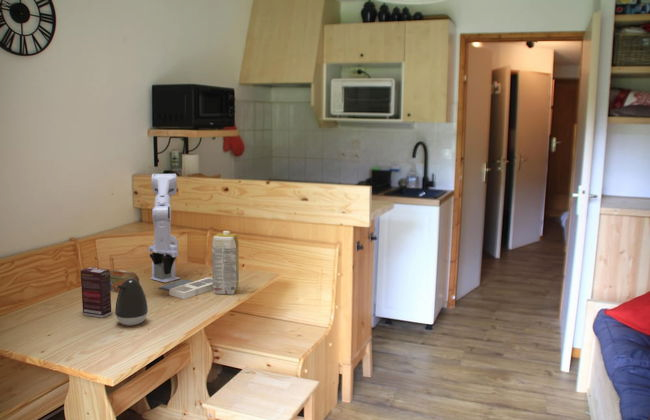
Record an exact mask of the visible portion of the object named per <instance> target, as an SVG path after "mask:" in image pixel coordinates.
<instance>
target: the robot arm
mask: <svg viewBox="0 0 650 420" xmlns="http://www.w3.org/2000/svg"><path fill="white" fill-rule="evenodd" d="M177 176H178V175H177V174H176V173H152V174H151V189H152V193H153V195H156V196H155V197H154V207H152V210H151V211H152V214H151V215H152V222H153V223H152V224H153V227H154V228H153V231H154V232H153V234H154V237H153V238H154V240H153V245H150V246H148V248H147V249H148V252H149V253H150V254H149V258H150V259H151V260H152V262H151V277H150V279H151V280H155V281H158V282H161V283H165V284H166V283H169V282H174V281H178V280H179V279H180V280H181V277H180V276H177V275H176V258H178V257H179V243H178V239H177V237H176V236H174V235H172V233H171V232H172V229H171V227H172V225H171V224H172V221H171V220H172V208H171V207H172V206H171V199H172V196H173V195H175V194H177V190H178V189H177V187H178V177H177ZM159 263H163V264H164V272H165V274H166V275H167V274H170V273H171V277H170V278H166V279H163V280H161V279H158V278H154V265H155V264H159Z"/></svg>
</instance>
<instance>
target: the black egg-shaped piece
mask: <svg viewBox="0 0 650 420" xmlns="http://www.w3.org/2000/svg"><path fill="white" fill-rule="evenodd" d="M117 287H118V288H120V290H119V293H118V292H117V298H116V303H115V312H114V314H115V316H116V318H117V320H118V322H119V323H120V324H122V325H123V326H128V327H129V326H132V327H133V326H138V325H139V324H141V323H143V322H144V320H145V319H146V317H147V315H148V312H149V308H148V306H149V305H148V301H147V298H146V293H145V292H144V289H143V286H142V284H141V283H140V281H139V282H138V281H137V280H136V279H133V278H129V279H127V280H125V281H124V282H123V284H122V285H118V286H117Z"/></svg>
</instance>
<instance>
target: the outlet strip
mask: <svg viewBox="0 0 650 420" xmlns="http://www.w3.org/2000/svg"><path fill="white" fill-rule="evenodd" d="M193 281H194V280H193ZM210 291H214V289H213V277H208V276H207V277H205V278H202V279H198V280H195V281H194V282H191V283H187V284H184V285H181V286H178V287H174V288H171V289H169V291H168V292H169V296H172V297H174V298H178V299H181V298H182V300H187V299H188V298H192V297H195V296H198V295H202V294H203V293H207V292H210Z"/></svg>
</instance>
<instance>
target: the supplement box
mask: <svg viewBox="0 0 650 420" xmlns="http://www.w3.org/2000/svg"><path fill="white" fill-rule="evenodd" d="M110 271H111V270H110V269H108V268H101V267H100V268H99V267H91V266H89V267H86V268H83V269H80V284H81V300H82V301H81V303H82V315H83V316H89V317H96V318H100V319H102V318H105V317H108V316H110V315H112V299H111V298H112V297H111V296H112V294H111V293H112V291H110Z"/></svg>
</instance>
